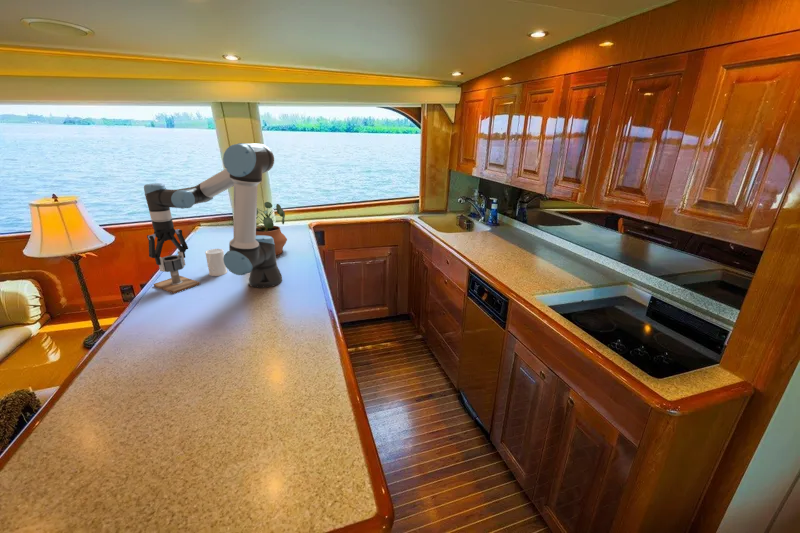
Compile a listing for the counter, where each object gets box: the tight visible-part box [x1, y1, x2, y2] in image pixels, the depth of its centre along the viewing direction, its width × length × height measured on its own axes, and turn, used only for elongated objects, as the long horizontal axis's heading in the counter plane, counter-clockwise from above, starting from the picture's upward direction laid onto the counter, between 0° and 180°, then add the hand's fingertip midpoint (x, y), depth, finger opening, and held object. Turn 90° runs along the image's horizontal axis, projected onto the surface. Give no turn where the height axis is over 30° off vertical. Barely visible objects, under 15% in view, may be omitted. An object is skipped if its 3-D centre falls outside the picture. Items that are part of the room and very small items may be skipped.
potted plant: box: [256, 201, 288, 256], centre depth 198 cm, size 23×28×30 cm
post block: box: [153, 270, 201, 294], centre depth 156 cm, size 16×12×10 cm
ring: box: [161, 254, 185, 273], centre depth 154 cm, size 8×8×5 cm
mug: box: [204, 248, 229, 277], centre depth 169 cm, size 12×8×12 cm
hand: (173, 267), depth 154 cm, fingers closed on ring, 8 cm apart
